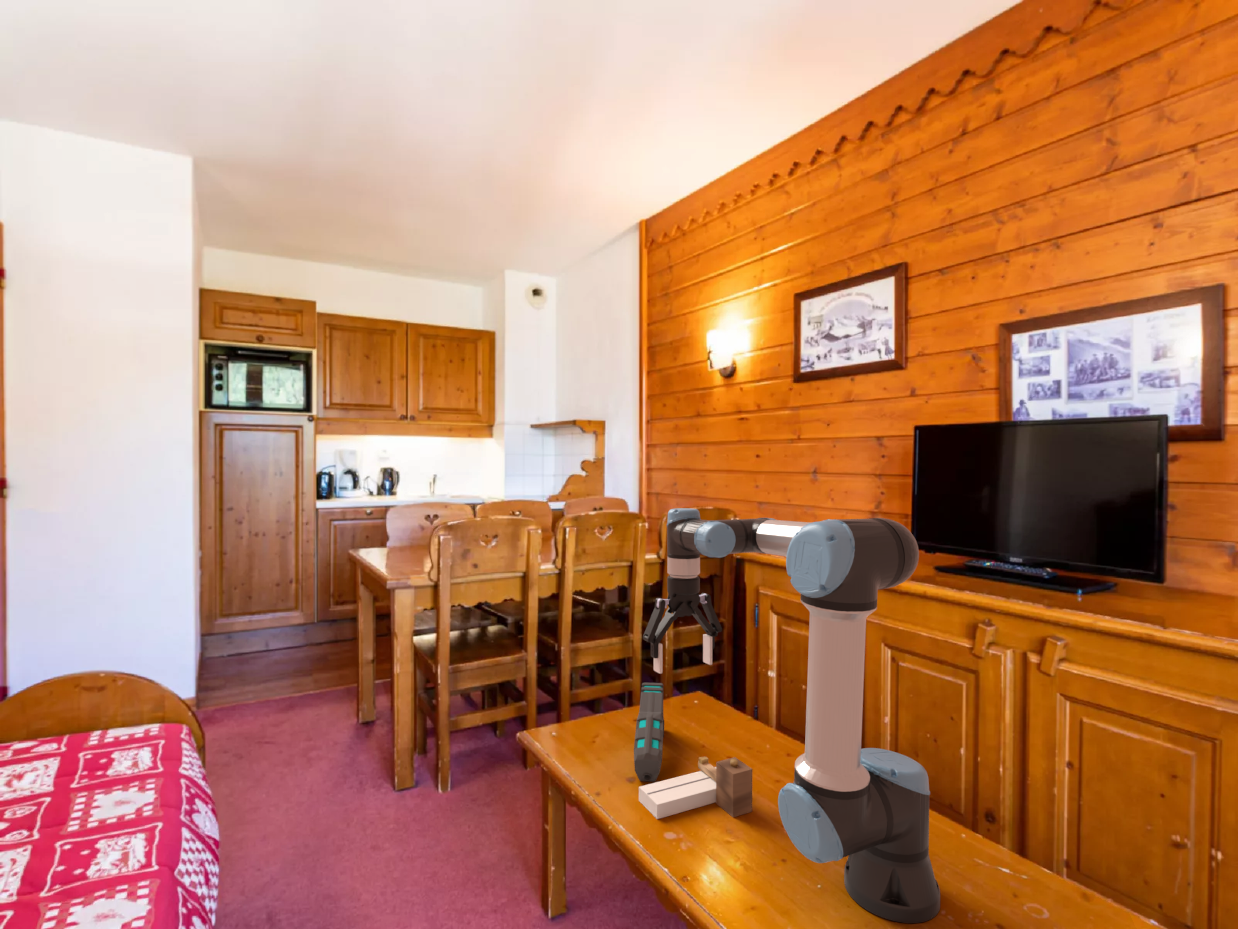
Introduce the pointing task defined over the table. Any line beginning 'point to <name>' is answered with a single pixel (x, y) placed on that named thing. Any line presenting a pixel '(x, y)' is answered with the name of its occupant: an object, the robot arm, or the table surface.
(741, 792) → the brown wooden clamp
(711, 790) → the board
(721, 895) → the table surface
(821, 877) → the table surface
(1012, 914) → the table surface
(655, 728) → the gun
